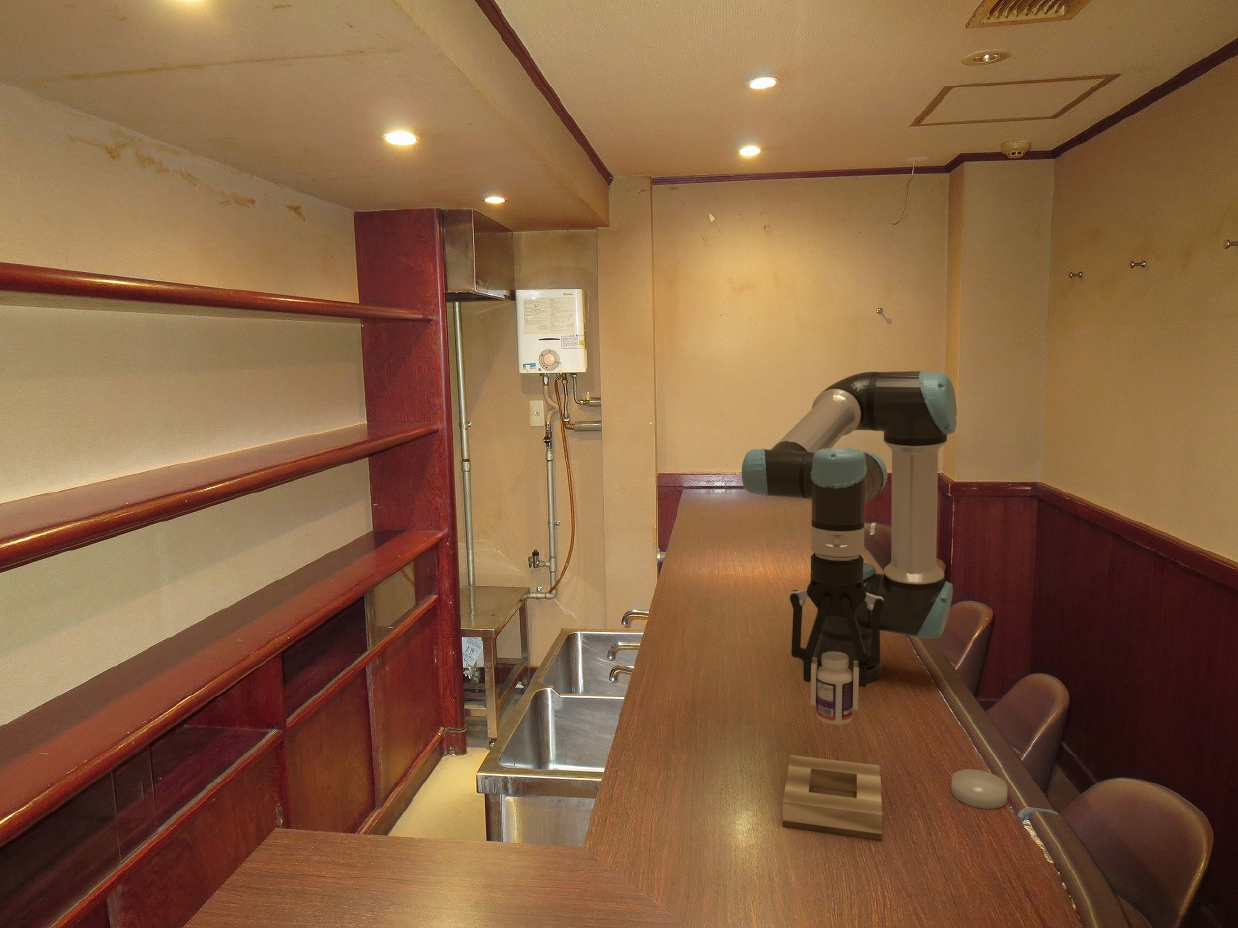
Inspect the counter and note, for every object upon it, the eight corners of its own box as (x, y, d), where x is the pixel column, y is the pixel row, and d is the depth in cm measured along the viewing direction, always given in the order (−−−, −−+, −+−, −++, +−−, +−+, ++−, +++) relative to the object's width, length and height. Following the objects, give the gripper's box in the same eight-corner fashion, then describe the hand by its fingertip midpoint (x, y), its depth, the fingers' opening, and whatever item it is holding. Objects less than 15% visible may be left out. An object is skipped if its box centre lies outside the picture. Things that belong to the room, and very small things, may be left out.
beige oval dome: (948, 777, 133) (949, 766, 133) (1002, 784, 131) (1002, 772, 131) (954, 804, 126) (954, 792, 125) (1011, 811, 123) (1011, 799, 123)
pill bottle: (846, 708, 126) (847, 648, 125) (857, 725, 121) (858, 662, 119) (811, 709, 126) (812, 649, 125) (821, 726, 121) (821, 663, 119)
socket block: (790, 777, 135) (790, 754, 134) (879, 788, 131) (879, 765, 130) (782, 826, 121) (782, 801, 121) (881, 840, 117) (882, 814, 117)
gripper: (771, 557, 119) (770, 707, 122) (904, 564, 114) (899, 721, 117) (775, 544, 126) (774, 687, 129) (902, 550, 121) (897, 699, 124)
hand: (834, 703), depth 123 cm, fingers closed on pill bottle, 5 cm apart
